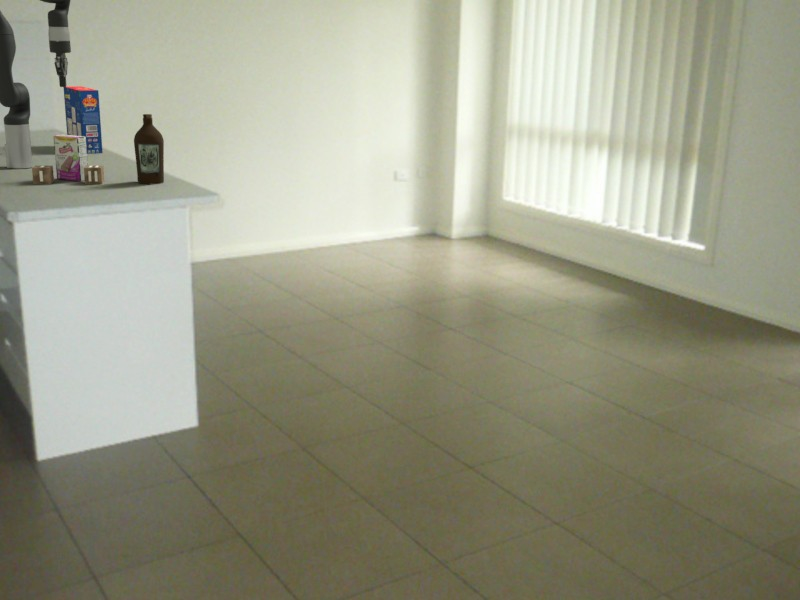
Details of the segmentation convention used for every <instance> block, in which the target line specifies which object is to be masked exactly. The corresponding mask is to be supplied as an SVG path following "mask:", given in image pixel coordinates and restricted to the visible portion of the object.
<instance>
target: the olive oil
mask: <svg viewBox="0 0 800 600" xmlns="http://www.w3.org/2000/svg"><path fill="white" fill-rule="evenodd" d="M142 116H143V117H142V126H141V127H140V128H139V129H138V130H137V131H136V133H135V135H134V137H133V144H134V145H133V146H134V147H133V148H134V153H135V154H134V156H135V163H136V175H137V183H138V184H141V185H158V184H164V181H165V170H164V166H165V165H164V163H165V161H164V160H165V159H164V157H165V156H164V155H165V154H164V146H165V142H164V138H163V135H162V133H161V132H160V131H159V130H158V129H157V128H156V126H154V124H153V122H154V121H153V114H151V113H145V114H142Z"/></svg>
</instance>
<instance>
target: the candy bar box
mask: <svg viewBox="0 0 800 600" xmlns="http://www.w3.org/2000/svg"><path fill="white" fill-rule="evenodd" d="M53 145H54V146H53V147H54V148H53V149H54V155H55V156H54V159H55V169H56V180H62V181H63V180H64V181H70V182H71V181H73V182H85V177H84V167H86V166H89V165H88V154H87V147H86V137H85V136H74V135H67V134H55V135H53Z"/></svg>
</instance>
